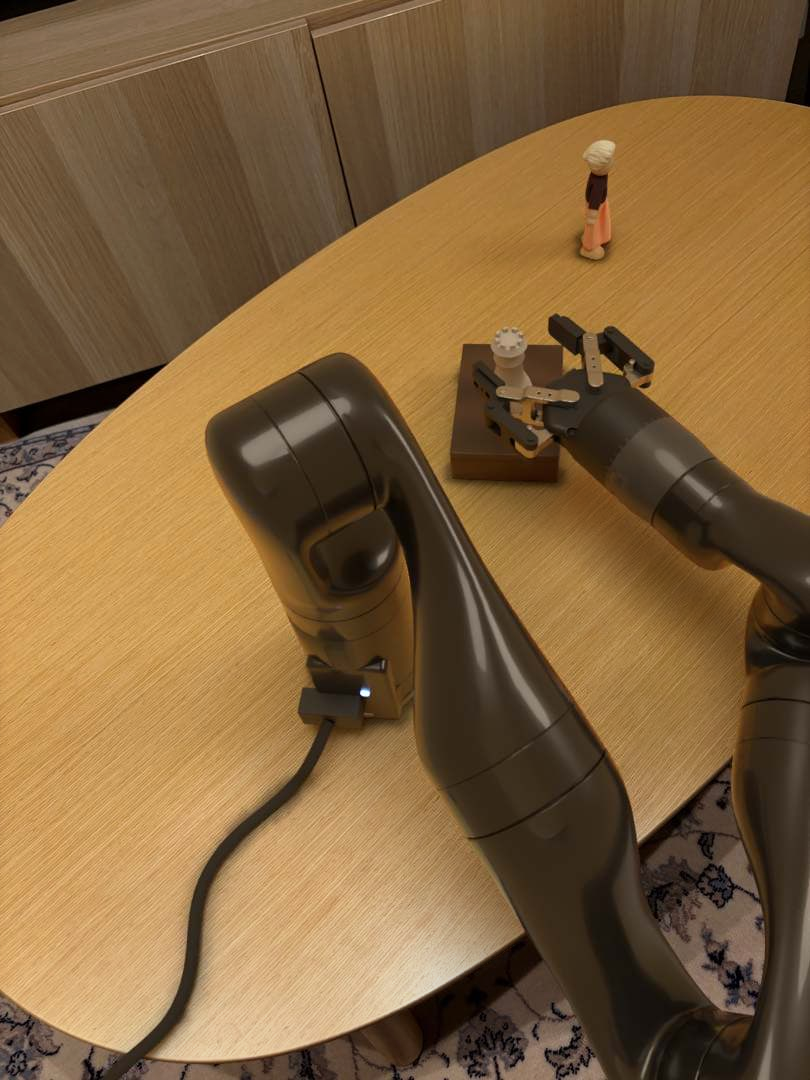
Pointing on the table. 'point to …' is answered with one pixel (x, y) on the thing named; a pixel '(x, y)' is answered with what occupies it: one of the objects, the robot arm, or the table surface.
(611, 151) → the grandmother figurine
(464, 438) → the walnut box
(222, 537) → the table surface
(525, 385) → the rook chess piece
